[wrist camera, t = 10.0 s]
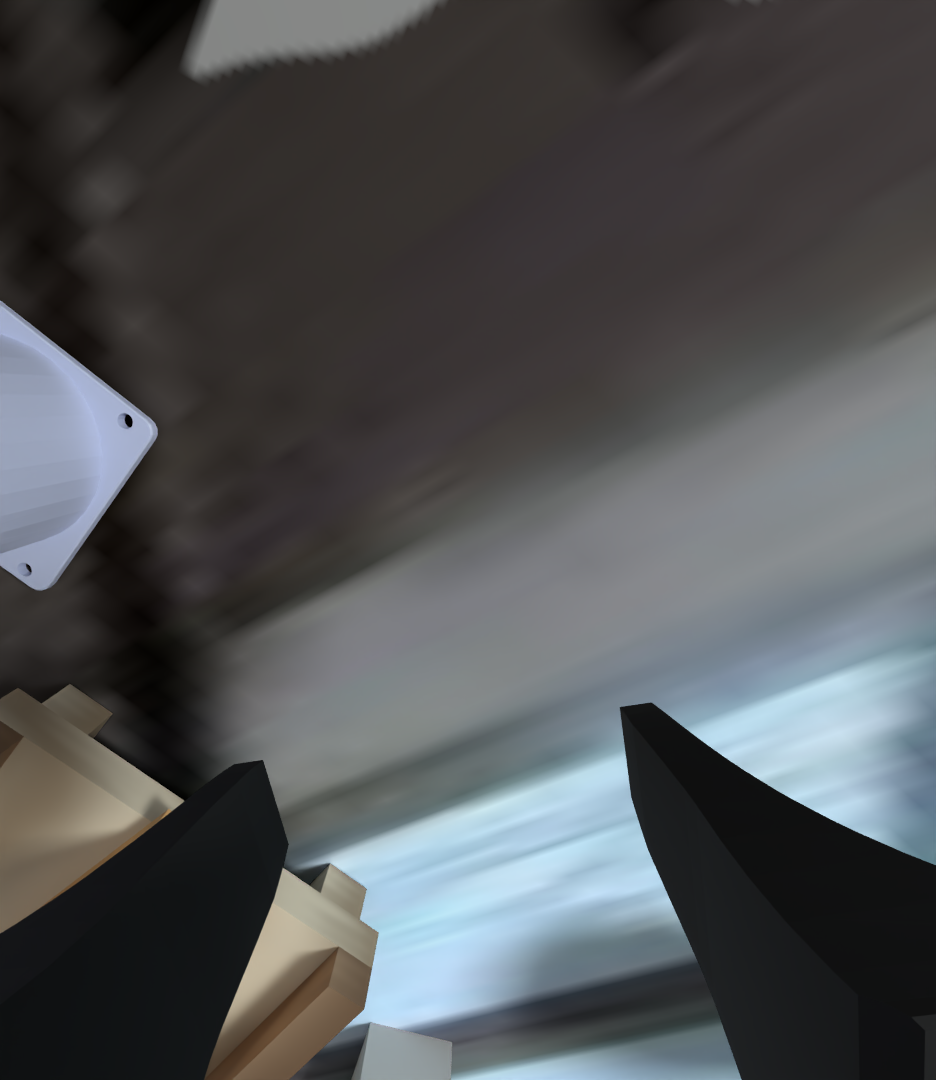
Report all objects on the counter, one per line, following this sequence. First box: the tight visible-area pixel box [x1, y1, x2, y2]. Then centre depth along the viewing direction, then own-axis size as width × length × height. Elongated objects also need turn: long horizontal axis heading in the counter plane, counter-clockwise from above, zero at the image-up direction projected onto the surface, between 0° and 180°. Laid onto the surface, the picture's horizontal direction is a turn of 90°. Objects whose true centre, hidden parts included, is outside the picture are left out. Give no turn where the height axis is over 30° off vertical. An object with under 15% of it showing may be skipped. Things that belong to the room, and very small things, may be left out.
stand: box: [0, 684, 378, 1080], centre depth 22 cm, size 17×10×4 cm, turn 50°
